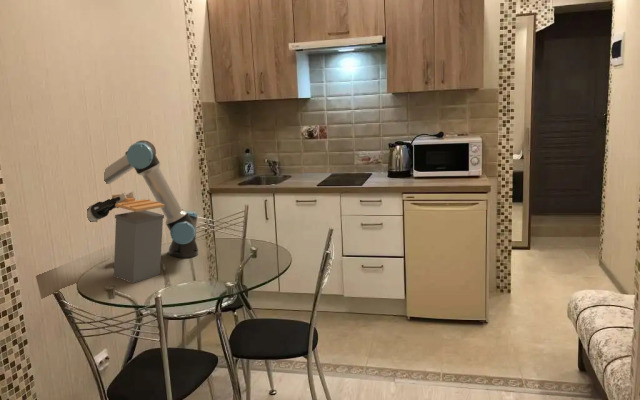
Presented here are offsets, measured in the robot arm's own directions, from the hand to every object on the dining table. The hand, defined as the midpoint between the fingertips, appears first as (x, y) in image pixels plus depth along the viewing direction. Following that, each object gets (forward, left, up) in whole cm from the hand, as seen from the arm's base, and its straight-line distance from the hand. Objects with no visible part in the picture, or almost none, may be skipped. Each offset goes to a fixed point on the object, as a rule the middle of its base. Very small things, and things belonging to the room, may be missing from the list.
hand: (129, 195), depth 229 cm
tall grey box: (-3, +6, -36) cm, 37 cm away
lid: (-1, +2, -4) cm, 5 cm away
